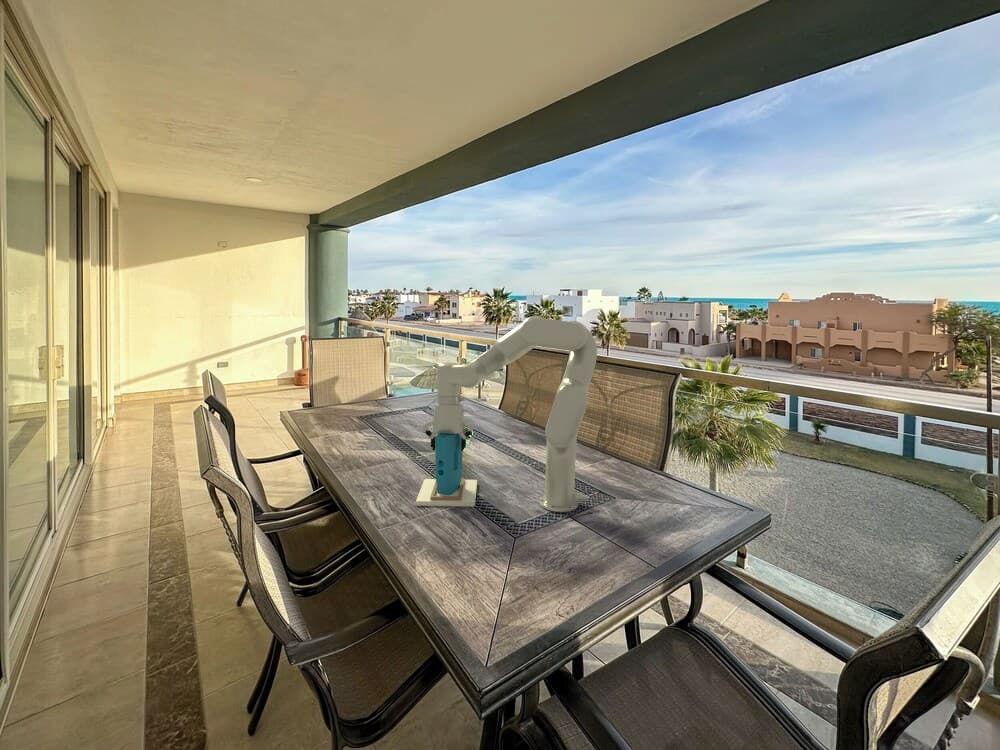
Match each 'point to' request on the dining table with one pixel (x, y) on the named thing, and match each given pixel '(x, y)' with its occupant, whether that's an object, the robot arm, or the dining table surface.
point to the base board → (458, 498)
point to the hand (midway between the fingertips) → (448, 449)
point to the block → (448, 463)
